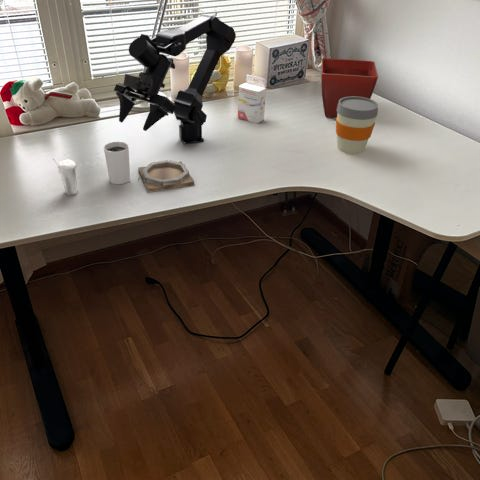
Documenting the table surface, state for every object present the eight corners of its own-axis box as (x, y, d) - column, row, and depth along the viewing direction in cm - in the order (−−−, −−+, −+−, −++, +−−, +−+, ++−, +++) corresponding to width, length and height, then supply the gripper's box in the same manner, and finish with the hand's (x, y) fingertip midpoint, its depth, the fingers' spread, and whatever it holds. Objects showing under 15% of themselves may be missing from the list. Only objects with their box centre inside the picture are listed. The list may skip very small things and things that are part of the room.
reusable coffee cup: (378, 148, 169) (386, 103, 160) (356, 160, 162) (365, 114, 153) (345, 136, 176) (352, 93, 167) (323, 147, 168) (329, 102, 160)
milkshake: (61, 188, 142) (55, 154, 137) (81, 187, 143) (75, 154, 137) (58, 196, 139) (51, 162, 133) (78, 196, 139) (72, 162, 133)
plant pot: (316, 101, 203) (322, 57, 193) (366, 105, 201) (374, 60, 191) (315, 120, 187) (321, 73, 177) (369, 124, 185) (378, 77, 176)
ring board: (181, 164, 156) (181, 157, 155) (194, 184, 146) (194, 177, 145) (138, 170, 152) (137, 163, 151) (148, 192, 142) (148, 184, 141)
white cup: (110, 186, 144) (106, 153, 138) (105, 175, 149) (101, 143, 143) (134, 182, 146) (131, 149, 140) (128, 172, 151) (125, 140, 145)
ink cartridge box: (236, 118, 186) (238, 77, 178) (244, 114, 190) (245, 73, 181) (257, 124, 183) (259, 82, 174) (264, 119, 186) (267, 78, 178)
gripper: (113, 54, 143) (89, 106, 143) (164, 68, 135) (139, 123, 135) (136, 73, 153) (115, 122, 153) (185, 87, 145) (163, 138, 145)
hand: (132, 126), depth 146 cm, fingers open, 9 cm apart
